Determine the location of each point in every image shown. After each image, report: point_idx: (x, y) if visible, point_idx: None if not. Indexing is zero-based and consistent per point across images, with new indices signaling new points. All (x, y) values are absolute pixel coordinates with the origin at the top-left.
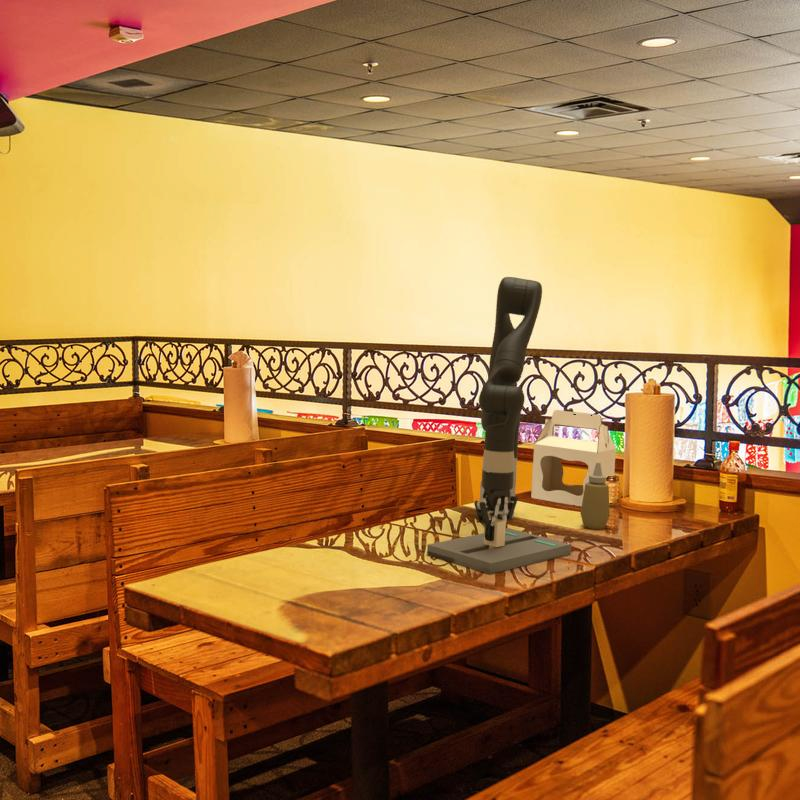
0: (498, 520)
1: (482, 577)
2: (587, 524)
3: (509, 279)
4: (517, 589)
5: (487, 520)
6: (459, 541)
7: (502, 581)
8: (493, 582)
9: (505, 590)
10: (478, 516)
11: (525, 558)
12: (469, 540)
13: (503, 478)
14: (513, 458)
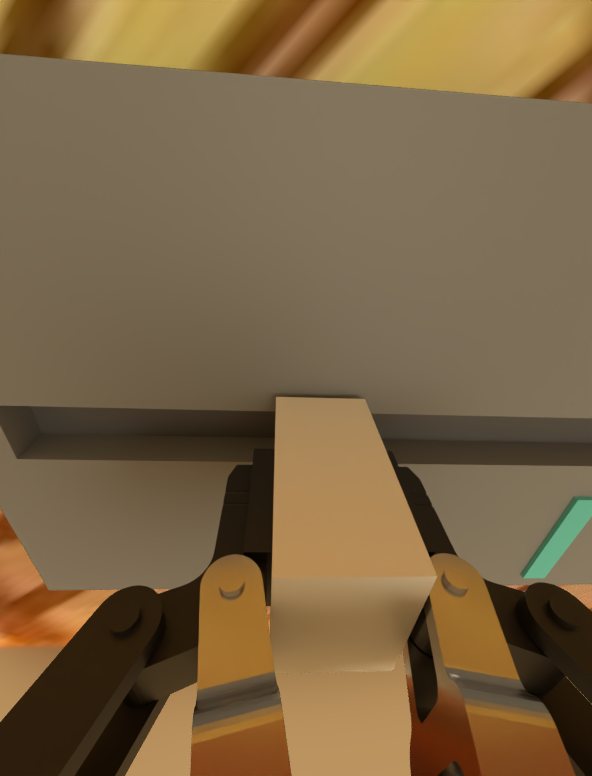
0: (350, 647)
1: (17, 550)
2: None
3: None
4: (61, 638)
5: (128, 704)
6: (182, 195)
7: (65, 594)
8: (25, 589)
9: (17, 631)
10: (20, 713)
11: None
12: (296, 231)
13: None
14: None
